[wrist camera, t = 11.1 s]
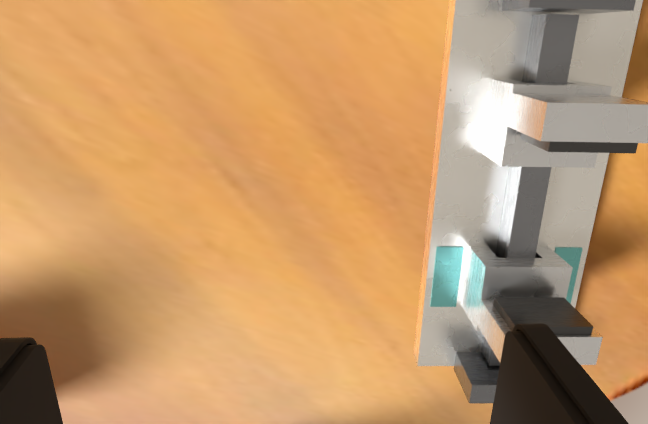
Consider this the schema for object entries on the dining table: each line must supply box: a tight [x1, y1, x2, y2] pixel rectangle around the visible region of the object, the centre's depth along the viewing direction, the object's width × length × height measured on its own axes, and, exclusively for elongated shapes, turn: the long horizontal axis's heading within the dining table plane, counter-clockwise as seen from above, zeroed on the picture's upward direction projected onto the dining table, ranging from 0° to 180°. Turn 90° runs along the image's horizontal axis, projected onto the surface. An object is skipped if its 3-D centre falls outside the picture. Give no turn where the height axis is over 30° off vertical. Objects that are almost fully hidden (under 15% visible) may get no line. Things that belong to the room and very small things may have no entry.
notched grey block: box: [461, 246, 603, 365], centre depth 34 cm, size 5×6×8 cm
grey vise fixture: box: [414, 0, 648, 403], centre depth 33 cm, size 29×12×10 cm, turn 178°
